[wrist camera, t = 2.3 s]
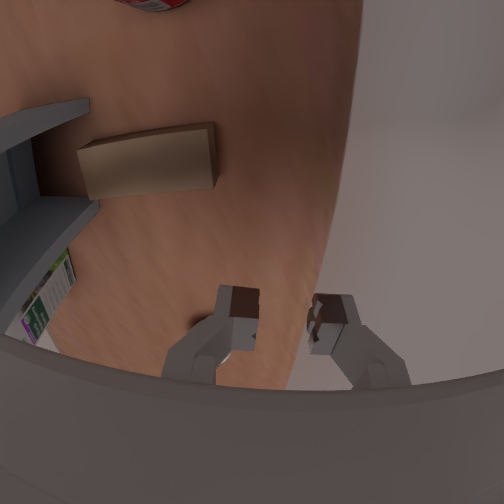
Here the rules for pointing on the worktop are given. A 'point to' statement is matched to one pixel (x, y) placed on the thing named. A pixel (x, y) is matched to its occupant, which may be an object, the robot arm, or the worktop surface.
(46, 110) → the shelf
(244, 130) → the worktop surface
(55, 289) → the syrup box
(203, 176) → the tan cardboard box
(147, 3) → the soda can
